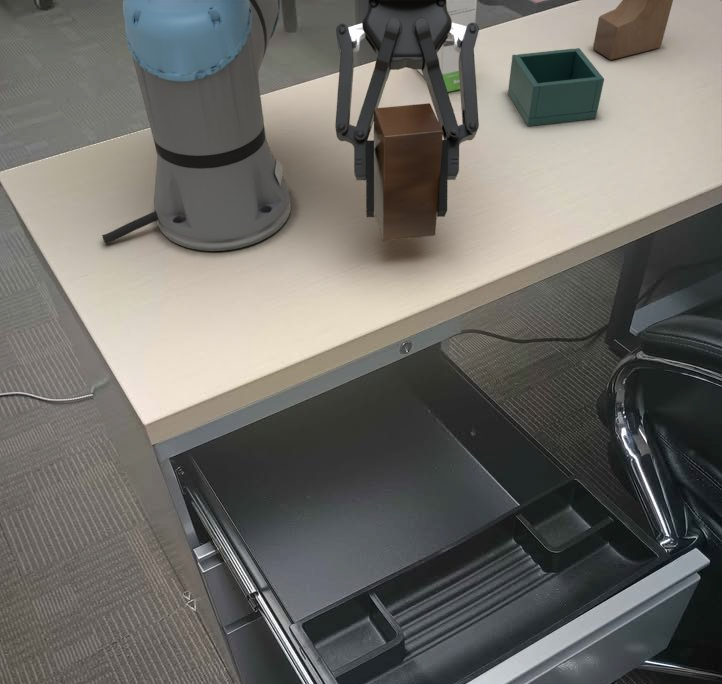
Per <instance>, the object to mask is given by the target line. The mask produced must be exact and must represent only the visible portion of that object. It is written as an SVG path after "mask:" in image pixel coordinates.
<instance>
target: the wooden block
mask: <svg viewBox="0 0 722 684" xmlns="http://www.w3.org/2000/svg"><path fill="white" fill-rule="evenodd" d="M673 3H674V0H621V2H620V3H619V4H618V5H617V6H616V8H614V9H612V10H610V11H607V12H606V13H603V14H601V15H599V16H598V19H597V24H596V31H595V36H594V40H593V45H592V48H593V50H594V51H596V52H597V53H599V54H600V55H602V56H603V57H605V58H606V59H608V60H610V61H612V60H616V59H621V58H624V57H627V56H628V57H629V56H633V55H636V54H640V53H645V52H647V51H652V50H657V49H660V48H661V47H662V44H663V41H664V36H665V33H666V29H667V25H668V22H669V18H670V13H671V10H672V7H673Z"/></svg>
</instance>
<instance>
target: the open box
mask: <svg viewBox="0 0 722 684" xmlns="http://www.w3.org/2000/svg"><path fill="white" fill-rule="evenodd" d="M510 64H511V65H510V72H509V80H508V90H507V95H508V96H509V98H510V100H511V102H512V103H513V104H514V106H515V108H516V109H517V111H518V113H519V114H520V116H521V118H522V120H523V121H524V122H525V124H526V126H527V127H533V126H544V125H551V124H552V125H553V124H559V123H569V122H575V121H576V122H577V121H587V120H595V119H597V115H598V111H599V106H600V101H601V96H602V92H603V88H604V87H603V86H604V82H605V78H604V77H603V76H602V74H601V73H600V71H599V70H598V69H597V68H596V67H595V66H594V64H593V62H591V61H590V59H589V58H588V57H587V55H586V54H585V53H584V51H582V50H581V48H580V47H577V48H576V47H575V48H567V49H555V50H549V51H547V50H546V51H537V52H528V53H520V54H519V53H518V54H512V55H511V63H510Z"/></svg>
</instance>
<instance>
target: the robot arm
mask: <svg viewBox="0 0 722 684" xmlns="http://www.w3.org/2000/svg"><path fill="white" fill-rule="evenodd" d="M446 3H447V0H367V10H366V13H365V15H364V17H363V19H362V22H361V23H358V24H354V25H351V26H348V25H347V24H346V23H339V24H338V25H337V26H336V28H335V34H336V35H335V36H336V43H337V49H338V51H339V54H340V58H339V70H338V83H337V85H338V86H337V99H336V110H335V111H336V112H335V134H336V138H337V140H338V141H340V142H346V143H349V144H350V145H352V146H353V168H354V169H353V172H354V177H355V180H356V181H365V183H366V184H365V186H366V187H365V198H366V199H365V212H366V213H365V215H366V218H375V214H374V139H371V140H369V138H370V134H371V131H372V129H373V126H374V108H379V106H380V103H381V99H382V96H383V94H384V90H385V87H386V83H387V81H388V79H389V76H390V73H391V71H398V70H402V69H405V68H408V69H411V70H416V71H418V70H420V69H421V70H422V73H423V75H422V78H423V79H424V81H425V83H426V86H427V89H428V93H429V96H430V99H431V102H432V105H433V110H434V113H435V115H436V118H437V120H438V122H439V124H440V126H441V128H442V130H443V139H442V152H441V166H440V178H439V192H438V205H437V218H439V217H440V218H441V217H443V218H444V217H446V214H447V212H448V184H449V183H448V181H456V179H457V177H458V174H459V172H460V145H461V144H462V143H464V142H466V141H472V140H474V139H475V137H476V135H477V133H478V131H479V127H480V126H479V125H480V121H479V106H478V92H477V75H476V62H475V46H476V42H477V39H478V35H479V32H480V27H479V24H477V23H476V22H475V23H469V24H468V25H467V26H464V25H460V24H456V23H453V22H452V20H451V17H450V15H449V13H448V11H447V5H446ZM280 12H281V0H122V14H123V20H124V33H125V40H126V44H127V46H128V50H129V52H130V53H131V58H132V61H133V65H134V68H135V73H136V77H137V81H138V84H139V89H140V92H141V93H140V94H141V97H142V101H143V104H144V108H145V112H146V116H147V119H148V124H149V128H150V132H151V135H152V138H153V143H154V147H155V151H156V167H155V181H154V193H153V210H154V211H153V212H150V213H148V214H145V215H144V216H141V217H138V218H137V219H135V220H133V221H130V222H128V223H125V224H124V225H122V226H120V227H118V228H115V229H114V230H112V231H109V232H108V233H104V234H102V235H101V236H102V239H103V242H104V244H110V243H112V242H115V241H116V240H119V239H120V238H123V237H125V236H126V235H128V234H131V233H133V232H135V231H137V230H139V229H141V228H144V227H146V226H148V225H150V224H152V223H153V224H154V222H156V223H157V227H158V228H159V230H160V231H161V233H162V235H164V237H166V238H167V240H170V241H171V242H173V243H175V244H176V245H178V246H181V247H184V248H187V249H191V250H197V251H206V252H222V251H229V250H230V251H231V250H237V249H241V248H246V247H249V246H252V245H255V244H258V243H259V242H262V241H263V240H266V239H268V238H269V237H270V236H272V235H274V234H275V233H277V232H278V231H279V230H280V229H281V228H282V227H283V226H284V225H285V223H286V222H287V221H288V219H289V216H290V214H291V210H292V209H291V208H292V205H291V196H290V195H291V194H290V191H289V187H288V183H287V181H286V179H285V177H284V175H283V173H284V172H283V171H284V168H283V165H282V163H281V161H280V159H279V156H277V157H276V158H275V156H274V154H273V151H272V150H271V147H270V146H269V144H268V140H267V136H266V135H267V134H266V129H265V122H264V113H263V112H264V111H263V104H262V96H261V90H260V80H259V78H260V77H259V74H260V69H261V67H262V63H263V61H264V59H265V58H264V57H265V55H266V52H267V49H268V46H269V42H270V41H271V39H272V37H273V36H274V33H275V32H276V28H277V26H278V23H279V19H280V17H279V16H280ZM448 37H449V38H451V39H452V41H453V48H454V50H455V51H456V52H459V53H460V54H459V80H460V89H459V92H460V106H461V107H460V108H461V109H460V110H461V122H462V123H461V124H458V121H457V118H456V114H455V111H454V108H453V105H452V101H451V98H450V95H449V92H447V88H446V85H445V82H444V79H443V76H442V72H441V69H440V65H439V59H438V56H437V52H438V51H439V49H440V48H441V46H442V45H443V44H444V42H445V41H446V39H447V38H448ZM364 39H365V40H366V41H367V43H368V44H369V46H370V47H371V49H372V50H373V52H374V53H375V55H376V56H377V57H376V60H375V63H374V64H375V65H374V68H373V71H372V75H371V78H370V81H369V84H368V87H367V90H366V93H365V97H364V100H363V103H362V106H361V109H360V112H359V115H358V119H357V122H356V125H353V124H351V123H350V122H351V109H352V95H353V82H354V67H355V58H354V54H356V53H358V52H359V51H360V48H361V42H362V40H364Z"/></svg>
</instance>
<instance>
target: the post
mask: <svg viewBox="0 0 722 684" xmlns="http://www.w3.org/2000/svg"><path fill="white" fill-rule="evenodd" d="M373 140H374V218H375V219H376V223H377V226H378V229H379V233H380V235H381V239H382V241H383V242H386V241H387V242H388V241H396V240H397V241H398V240H406V239H415V238H423V237H424V238H425V237H433V236H436V234H437V233H436V232H437V219H438V217H437V205H438V192H439V178H440V166H441V152H442V140H444V137H443V130H442V128H441V126H440V124H439V121H438V118H437V115H436V112H435V110H434V108H433V107H432V105H431V103H427V102H426V103H418V104H417V103H416V104H409V105H408V104H407V105H397V106H385V107H378V108H374V122H373Z"/></svg>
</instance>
